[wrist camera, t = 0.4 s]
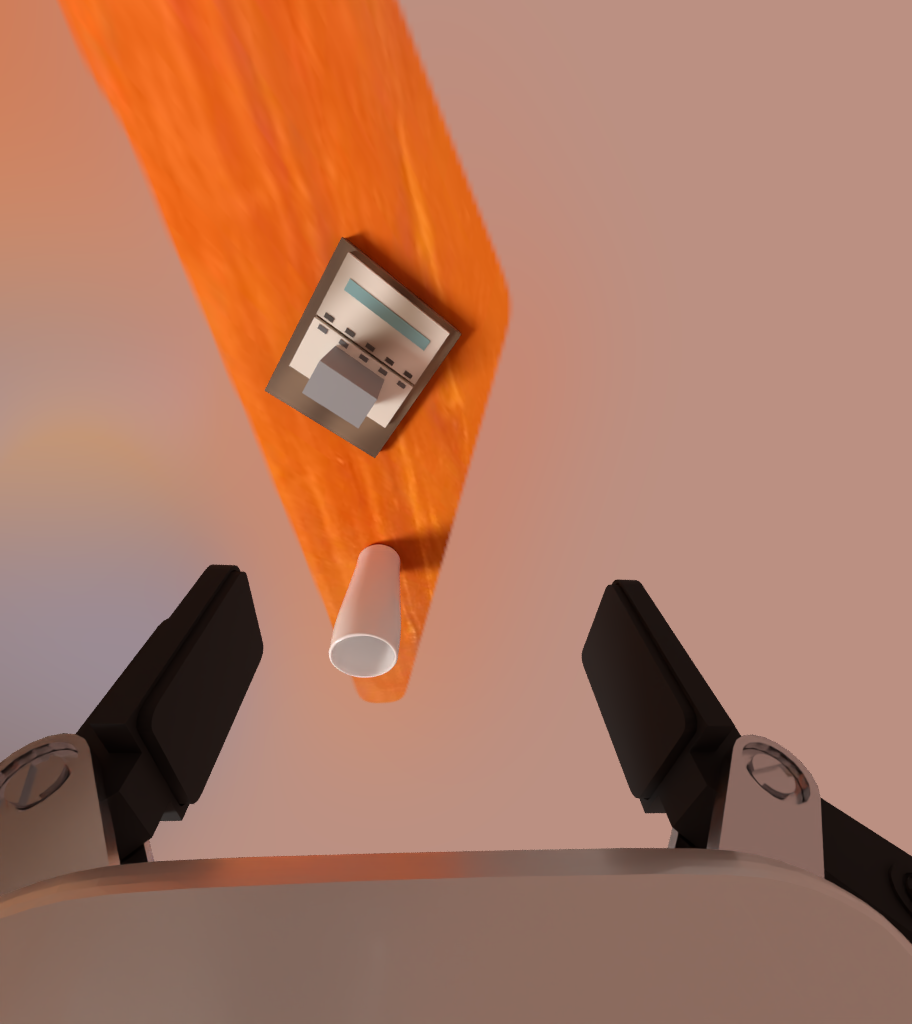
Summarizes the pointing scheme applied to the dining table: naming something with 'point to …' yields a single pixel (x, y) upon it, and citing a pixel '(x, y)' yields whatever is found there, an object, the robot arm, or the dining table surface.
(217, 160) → the dining table surface
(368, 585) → the drinking glass
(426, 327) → the board
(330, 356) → the stub
